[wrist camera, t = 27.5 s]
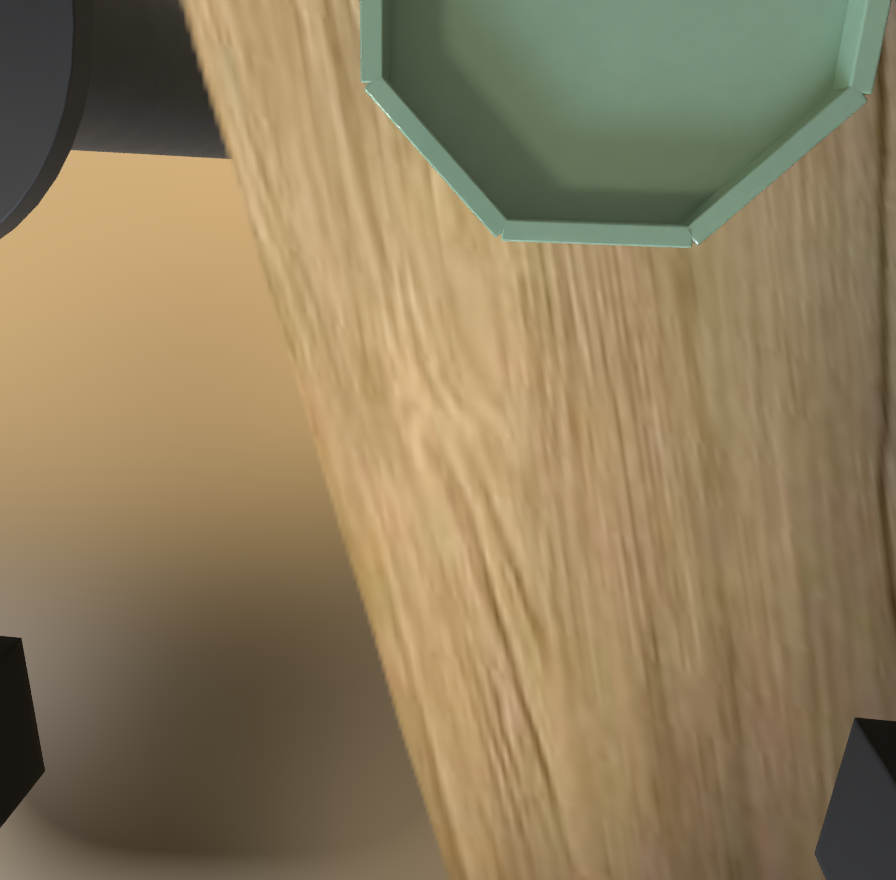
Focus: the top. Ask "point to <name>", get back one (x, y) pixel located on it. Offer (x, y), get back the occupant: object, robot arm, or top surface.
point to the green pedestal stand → (616, 104)
